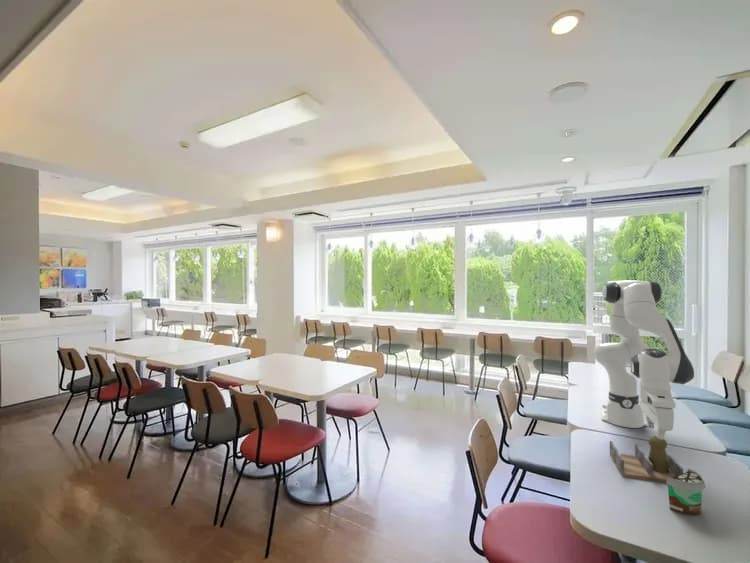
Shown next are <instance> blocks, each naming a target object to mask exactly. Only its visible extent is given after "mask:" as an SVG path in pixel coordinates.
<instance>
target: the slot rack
mask: <svg viewBox="0 0 750 563" xmlns="http://www.w3.org/2000/svg"><path fill="white" fill-rule="evenodd" d="M665 451H666V456H667V462H668V467H669V472H668V473H660V472H656V471H654V470H653V464H652V463H651V461H650V460H649V456H647V455H646V454H645V452H644V451H643V450H642V449H641V447H640V446H639V444H634V455H631V454H625V453H620V452H619V450H618V449H617V447H616V445H615V443H614V442H613V441H612V440H609V456H610V458H611V460H612V461H613V463H614V464H615V467H616V469H617V471H618V472H619V474H620V475H621V477H624V478H632V479H637V480H638V479H639V480H643V481H644V480H645V481H650V482H656V483H664V484H666V482H667V477H670V478H673V477H675V476H676V475H678V474H682V473H684V468H683V467H682V465H680V463H678V462H677V461H676V460H675V458H674V457H673V456H672V455H671V454H670V453H669V452H668V451H667V449H665Z"/></svg>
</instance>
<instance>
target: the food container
mask: <svg viewBox="0 0 750 563" xmlns="http://www.w3.org/2000/svg"><path fill="white" fill-rule="evenodd" d="M665 485H667V491H668V501H669V510H671V511H673V512H676V513H678V514H681V515H685V516H692V517H693V516H694V517H695V516H699V515H701V513H702V501H703V498H702V497H703V490H705V489H706V483H705V480H704V478H703V476H702V475H701V474H699V473H698V472H697V471H695V470H693V469H691V468H688V467H687V471H686V472H683V473H682V474H678V475H676V476H675V477H673V478H670V477H667V482H666V483H665Z"/></svg>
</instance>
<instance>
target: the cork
mask: <svg viewBox="0 0 750 563" xmlns="http://www.w3.org/2000/svg"><path fill="white" fill-rule="evenodd" d="M648 445H650V446H649V455H648V458H649V460H650V461H651V463H652V464H653V470H654V471H656V472H660V473H668V472H669V467H668V462H667V456H666V451H667V447H668V442H667V440H665V438H664V439H658V437H657V435H656V436H650V437H649V438H648ZM665 450H666V451H665Z"/></svg>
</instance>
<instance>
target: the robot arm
mask: <svg viewBox="0 0 750 563" xmlns="http://www.w3.org/2000/svg"><path fill="white" fill-rule="evenodd" d="M601 293H602V297H603V300H604V301H606V303H610V304H612V306H611V311H610V325H609V326H610V327H609V328H610V331H612V333H613V334H615V335H616V336H618V337H619V339H620V341H619V342H605V343H599V344H597V345H596V346H595V347H594V349H593V357H594V359H595V361H596V362H597V363H599V364H600V365H601V366H602V367H603V368H604V369H605V370H606V373H607V375H608V381H609V391H608V399H607V400H606V401H605V402H606V403H602V409H601V414H600V415H601V418H600V419H601V421H604V422H608V423H610V424H613V425H616V426H619V427H622V428H630V429H640V428H643V427H644V426H645V427H647V428H649V429H654V428H655V427H656V429H657V432H656V437H658V439H664V440H665V434H666V432H672V431H673V428H674V423H675V422H674V421H675V420H674V419H675V416H674V415H675V412H674V409H676V402H675V400H674V399H673V396H672V390H671V389H672V388H671V385H670V383H672V384H679V385H685V384H687V383H689V382H690V381H692V380H693V379H694V378H695V370H694V367H693V364H692V362H691V360H690V359H689V357H688V356H687V354H686V352H685V350H684V347H683V346H682V342H681V341H680V339H679V337H678V334H677V331H676V329H675V327H674V326H673V324H672V322H671V321H670V319H668V318H666V317H664V316H663V315H662V314H661V313H660V312H659V310H658V308H657V305H656V304H657V303H659V302H660V301H661V299H662V296H663V290H662V287H661V284H659V283H658V282H655V281H651V280H648V281H647V280H646V281H645V280H637V279H636V280H633V279H632V280H611V281H606V282H605V284H604V285H603V288H602V292H601ZM640 330H643V331H645V332H649V333H651V334H654V335H657V336H658V337H660V338H661V339H662V340H663V343H664V345H665V347H666V349H667V352H668V353H667V352H665V351H663V350H660V349H656V348H650V347H649V345H647V344H646V343H645V342H644V341H643V340H642V338H641V335H640ZM668 354H669V355H668ZM626 366H630V372H631V373H629V372H628V371H627V369H626ZM637 379H640V382H639V392H638V380H637ZM638 393H639V394H638ZM639 403H640V404H639ZM644 414H645V415H644ZM645 419H646V421H645Z"/></svg>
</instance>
